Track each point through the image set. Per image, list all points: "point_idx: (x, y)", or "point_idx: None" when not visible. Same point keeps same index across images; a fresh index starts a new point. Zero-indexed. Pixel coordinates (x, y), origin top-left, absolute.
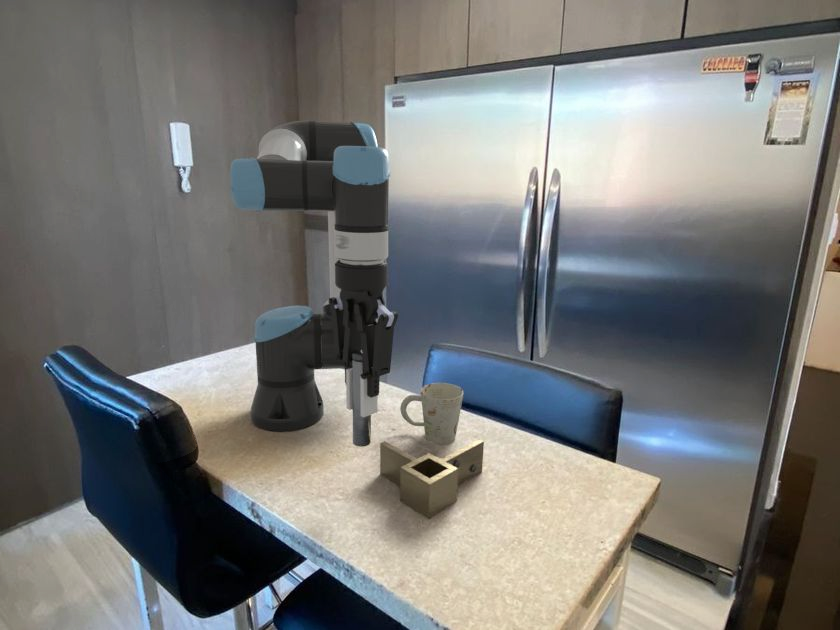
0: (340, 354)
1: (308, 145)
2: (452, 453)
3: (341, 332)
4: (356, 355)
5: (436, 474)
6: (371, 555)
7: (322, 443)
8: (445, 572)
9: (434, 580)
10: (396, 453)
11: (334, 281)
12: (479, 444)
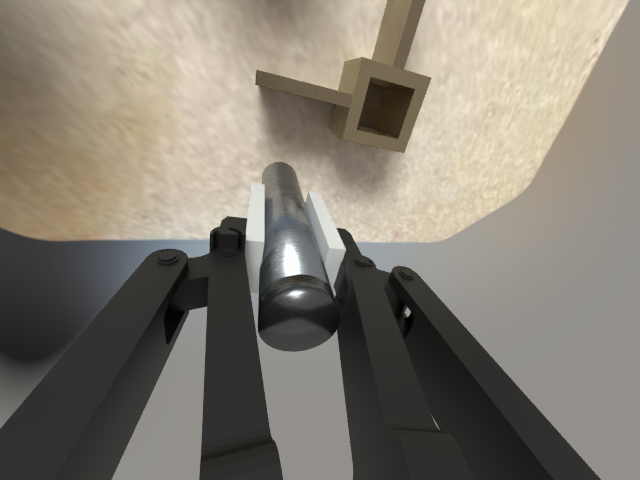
0: (183, 318)
1: None
2: (406, 24)
3: (132, 413)
4: (303, 349)
5: (380, 81)
6: (354, 225)
7: (69, 51)
8: (427, 201)
9: (421, 215)
10: (305, 96)
11: None
12: None
